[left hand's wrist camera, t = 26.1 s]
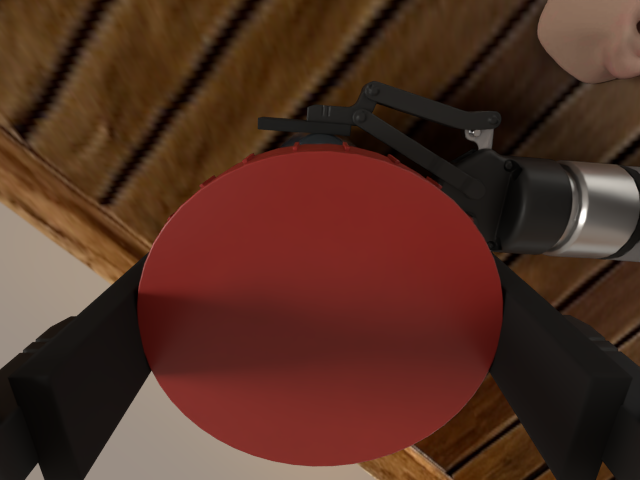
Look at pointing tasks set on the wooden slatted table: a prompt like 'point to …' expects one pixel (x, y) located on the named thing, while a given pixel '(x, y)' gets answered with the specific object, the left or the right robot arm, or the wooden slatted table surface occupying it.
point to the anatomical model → (593, 37)
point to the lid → (320, 306)
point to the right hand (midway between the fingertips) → (259, 187)
